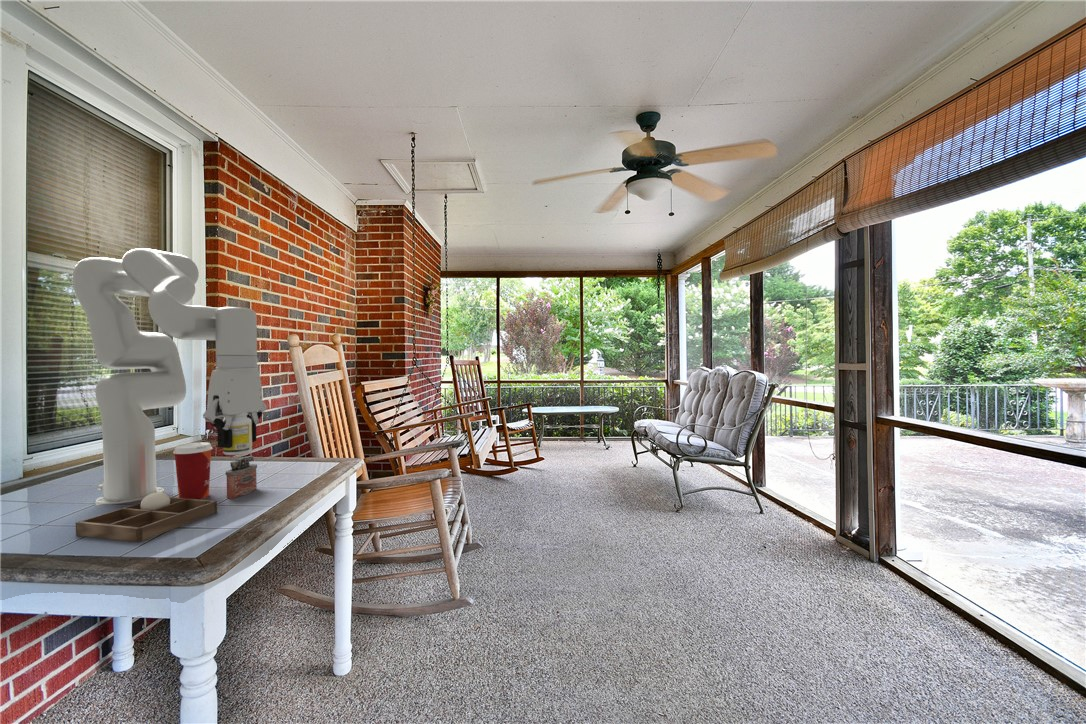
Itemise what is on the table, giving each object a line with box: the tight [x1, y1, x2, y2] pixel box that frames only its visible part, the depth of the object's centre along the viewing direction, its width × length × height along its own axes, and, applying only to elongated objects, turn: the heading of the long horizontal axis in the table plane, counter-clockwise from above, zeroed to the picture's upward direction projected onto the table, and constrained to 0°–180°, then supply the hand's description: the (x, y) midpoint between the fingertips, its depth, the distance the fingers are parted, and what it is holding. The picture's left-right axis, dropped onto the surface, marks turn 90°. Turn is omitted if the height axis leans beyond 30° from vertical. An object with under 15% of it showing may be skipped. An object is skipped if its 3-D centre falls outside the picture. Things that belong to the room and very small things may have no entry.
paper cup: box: [172, 441, 214, 500], centre depth 109 cm, size 8×8×14 cm
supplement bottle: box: [222, 413, 253, 456], centre depth 99 cm, size 5×5×10 cm
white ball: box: [140, 492, 171, 510], centre depth 97 cm, size 5×5×5 cm
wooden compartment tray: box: [75, 496, 218, 543], centre depth 93 cm, size 16×16×4 cm
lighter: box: [225, 455, 258, 499], centre depth 112 cm, size 8×3×10 cm, turn 168°
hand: (237, 443), depth 99 cm, fingers closed on supplement bottle, 5 cm apart
